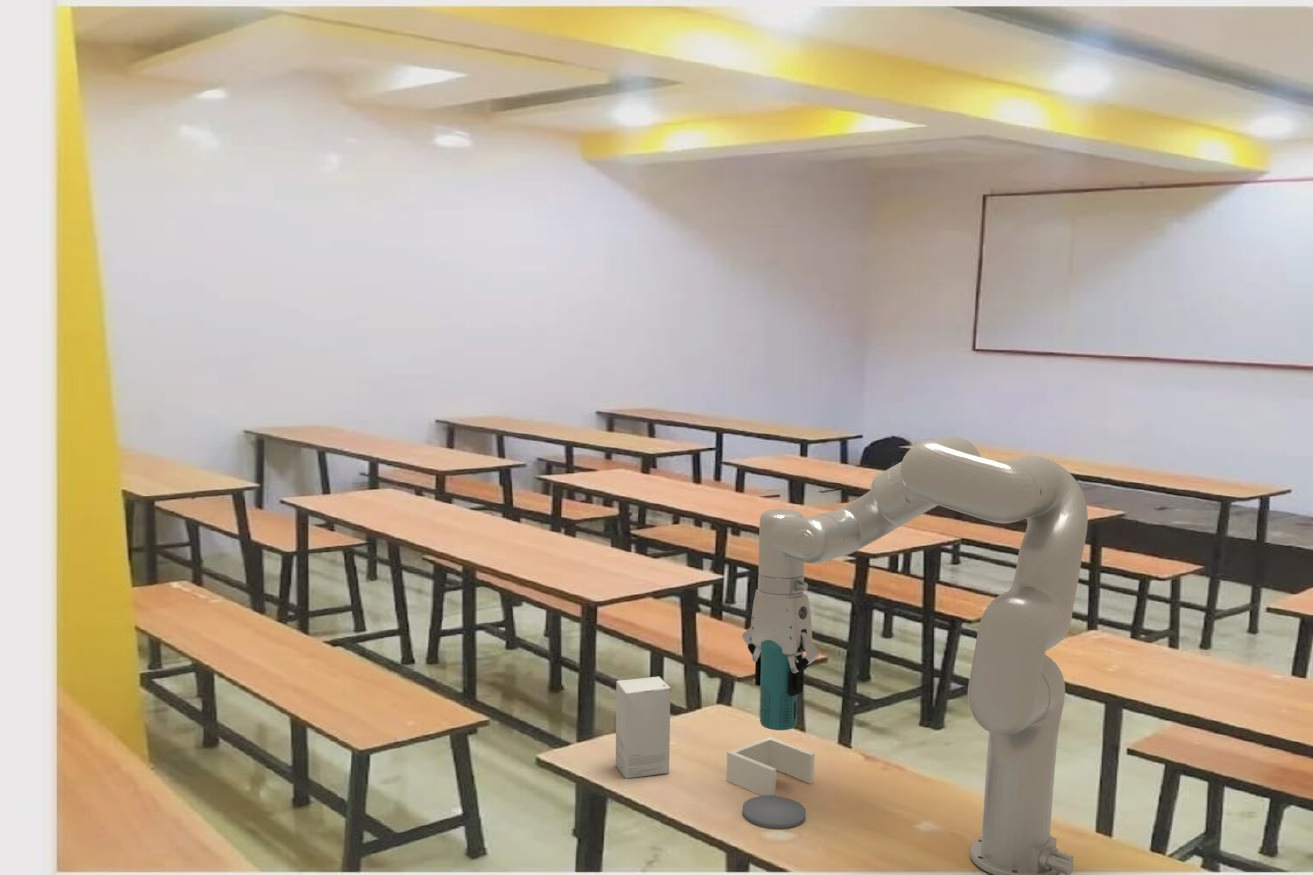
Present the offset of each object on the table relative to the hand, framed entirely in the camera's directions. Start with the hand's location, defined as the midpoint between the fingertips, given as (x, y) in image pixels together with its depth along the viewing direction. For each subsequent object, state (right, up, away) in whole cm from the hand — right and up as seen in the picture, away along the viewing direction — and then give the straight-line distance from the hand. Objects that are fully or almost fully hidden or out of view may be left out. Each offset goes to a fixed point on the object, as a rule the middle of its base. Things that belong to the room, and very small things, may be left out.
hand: (778, 687), depth 196 cm
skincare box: (-23, -16, +6) cm, 29 cm away
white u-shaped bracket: (-1, -16, +2) cm, 17 cm away
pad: (-2, -18, -10) cm, 21 cm away
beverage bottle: (0, -8, +1) cm, 8 cm away
